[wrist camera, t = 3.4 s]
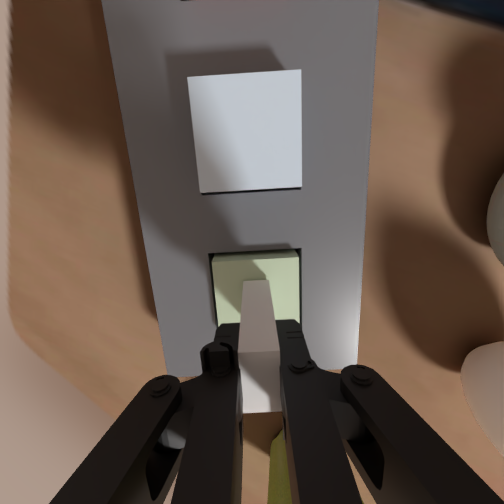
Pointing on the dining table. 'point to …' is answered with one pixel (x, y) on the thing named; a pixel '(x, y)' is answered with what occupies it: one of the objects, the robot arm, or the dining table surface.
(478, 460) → the dining table surface
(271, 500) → the plant pot
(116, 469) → the robot arm
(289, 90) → the white button
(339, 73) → the button panel
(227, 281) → the green button
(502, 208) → the air freshener
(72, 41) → the dining table surface
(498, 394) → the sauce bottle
